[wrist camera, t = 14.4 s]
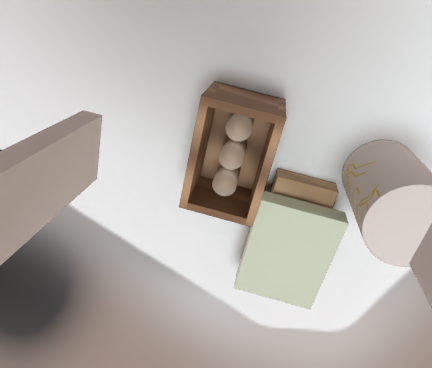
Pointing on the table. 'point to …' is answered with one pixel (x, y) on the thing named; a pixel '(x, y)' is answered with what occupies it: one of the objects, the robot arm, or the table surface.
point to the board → (304, 188)
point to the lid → (289, 249)
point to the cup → (389, 199)
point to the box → (232, 152)
